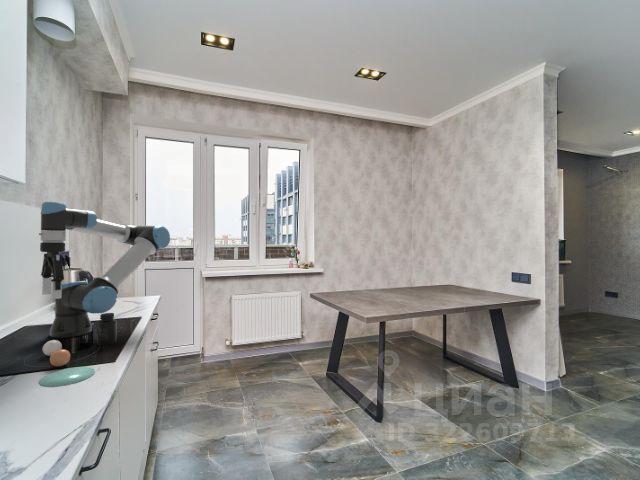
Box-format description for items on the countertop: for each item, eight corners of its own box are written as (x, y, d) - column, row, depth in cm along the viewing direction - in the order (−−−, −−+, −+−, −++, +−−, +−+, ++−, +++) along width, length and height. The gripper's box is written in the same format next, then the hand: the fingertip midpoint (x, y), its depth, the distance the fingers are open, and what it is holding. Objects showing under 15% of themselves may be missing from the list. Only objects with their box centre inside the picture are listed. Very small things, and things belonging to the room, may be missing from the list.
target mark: (35, 376, 103) (35, 375, 103) (88, 364, 113) (88, 363, 113) (43, 391, 93) (43, 390, 93) (100, 376, 104) (100, 375, 104)
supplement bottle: (120, 341, 137) (120, 313, 137) (103, 346, 131) (104, 316, 131) (109, 339, 140) (110, 311, 140) (93, 344, 134) (93, 314, 134)
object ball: (48, 365, 111) (48, 349, 111) (68, 361, 115) (68, 345, 115) (51, 370, 107) (51, 353, 107) (72, 365, 111) (72, 349, 111)
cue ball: (41, 355, 120) (41, 340, 120) (60, 351, 124) (60, 337, 124) (43, 359, 117) (44, 343, 117) (63, 355, 121) (63, 340, 121)
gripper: (32, 241, 132) (31, 293, 132) (49, 242, 117) (48, 301, 117) (55, 241, 138) (54, 291, 138) (75, 242, 123) (73, 299, 123)
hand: (51, 296), depth 127 cm, fingers open, 13 cm apart
